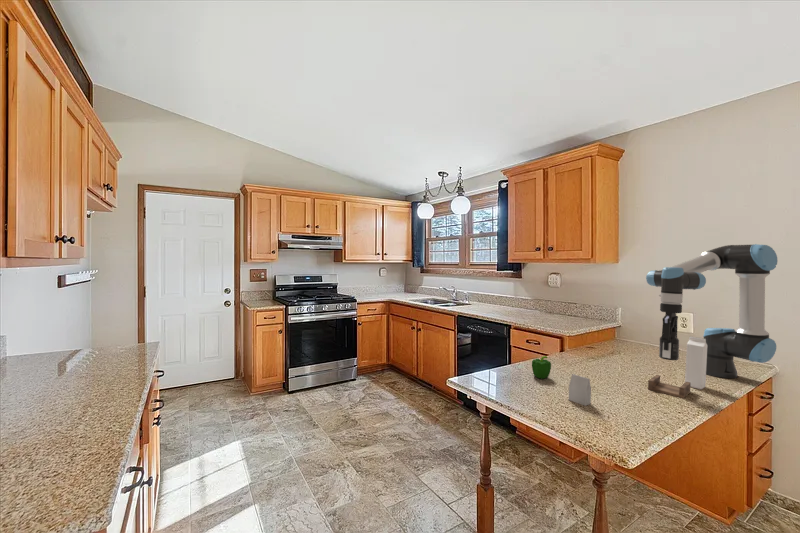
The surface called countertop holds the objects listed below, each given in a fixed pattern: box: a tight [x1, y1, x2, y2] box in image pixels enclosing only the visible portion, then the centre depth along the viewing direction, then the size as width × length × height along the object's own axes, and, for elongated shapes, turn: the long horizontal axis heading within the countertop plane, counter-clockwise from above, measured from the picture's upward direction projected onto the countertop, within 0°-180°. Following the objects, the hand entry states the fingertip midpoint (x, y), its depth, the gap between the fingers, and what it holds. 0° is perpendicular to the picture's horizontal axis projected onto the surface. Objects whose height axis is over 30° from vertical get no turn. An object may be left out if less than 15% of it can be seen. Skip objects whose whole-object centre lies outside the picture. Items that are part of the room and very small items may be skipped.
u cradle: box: [647, 374, 691, 399], centre depth 158 cm, size 12×12×4 cm
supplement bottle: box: [658, 331, 680, 361], centre depth 158 cm, size 7×7×12 cm
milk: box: [684, 336, 707, 390], centre depth 164 cm, size 6×6×22 cm
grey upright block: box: [568, 373, 592, 407], centre depth 142 cm, size 4×7×10 cm, turn 35°
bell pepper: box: [531, 355, 552, 379], centre depth 170 cm, size 8×8×10 cm
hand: (668, 356), depth 158 cm, fingers closed on supplement bottle, 7 cm apart
